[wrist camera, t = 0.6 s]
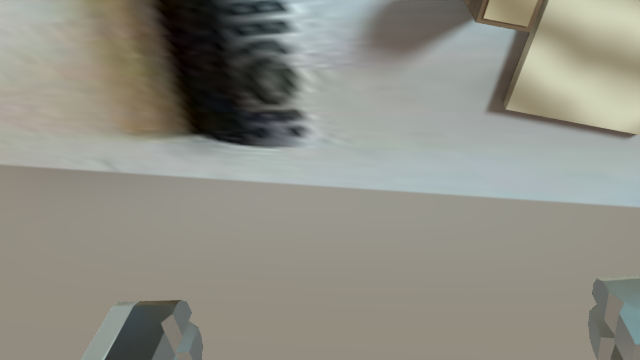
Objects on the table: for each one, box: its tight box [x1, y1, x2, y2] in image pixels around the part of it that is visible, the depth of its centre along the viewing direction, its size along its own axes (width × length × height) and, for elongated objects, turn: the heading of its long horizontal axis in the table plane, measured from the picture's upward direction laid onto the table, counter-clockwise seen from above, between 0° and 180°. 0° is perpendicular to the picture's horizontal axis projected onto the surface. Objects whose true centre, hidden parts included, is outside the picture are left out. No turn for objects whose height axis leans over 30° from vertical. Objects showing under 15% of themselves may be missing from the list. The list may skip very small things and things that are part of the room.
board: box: [503, 0, 640, 135], centre depth 46 cm, size 14×14×2 cm
